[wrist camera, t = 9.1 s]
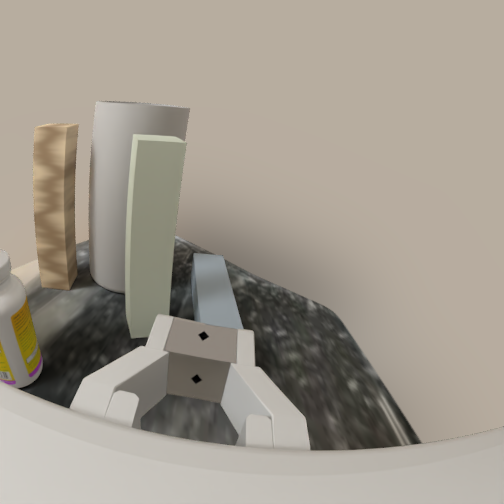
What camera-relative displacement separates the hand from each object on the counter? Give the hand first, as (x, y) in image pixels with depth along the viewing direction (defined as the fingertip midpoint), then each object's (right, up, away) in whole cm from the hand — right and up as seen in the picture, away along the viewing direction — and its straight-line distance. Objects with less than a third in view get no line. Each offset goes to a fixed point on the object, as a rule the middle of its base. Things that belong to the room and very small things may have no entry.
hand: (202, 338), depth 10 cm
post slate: (-1, -9, +21) cm, 23 cm away
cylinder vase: (-17, -1, +37) cm, 41 cm away
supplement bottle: (-23, -10, +16) cm, 29 cm away
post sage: (-11, -6, +28) cm, 31 cm away
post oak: (-26, -1, +31) cm, 41 cm away
